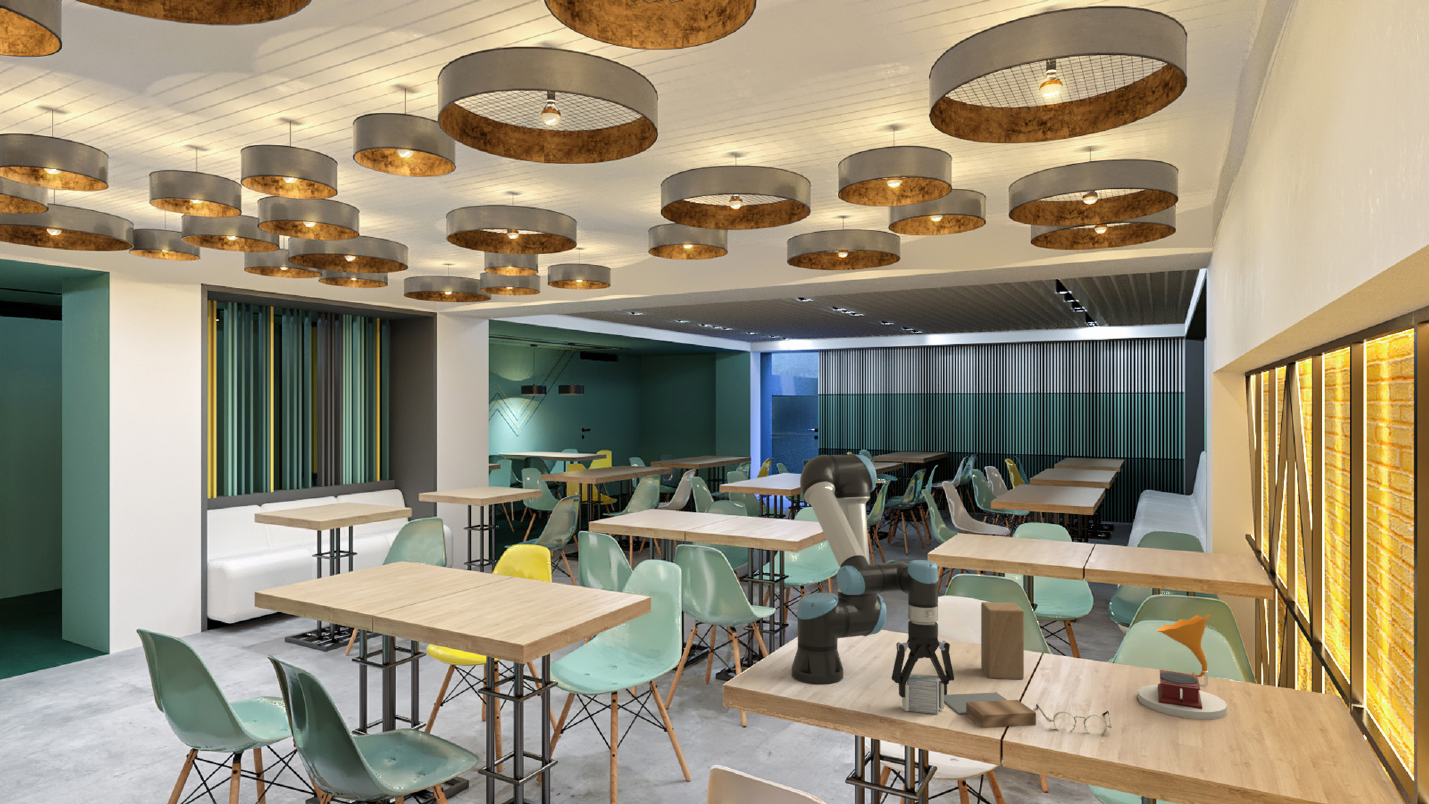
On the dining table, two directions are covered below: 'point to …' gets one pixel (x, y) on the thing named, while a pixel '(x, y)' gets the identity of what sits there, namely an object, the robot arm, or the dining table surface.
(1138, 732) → the dining table surface
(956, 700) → the mat
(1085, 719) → the round eyeglasses
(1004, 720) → the brown wooden flat block
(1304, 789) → the dining table surface
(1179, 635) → the gramophone
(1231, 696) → the dining table surface
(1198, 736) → the dining table surface
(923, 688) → the medicine box
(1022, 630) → the wooden block
